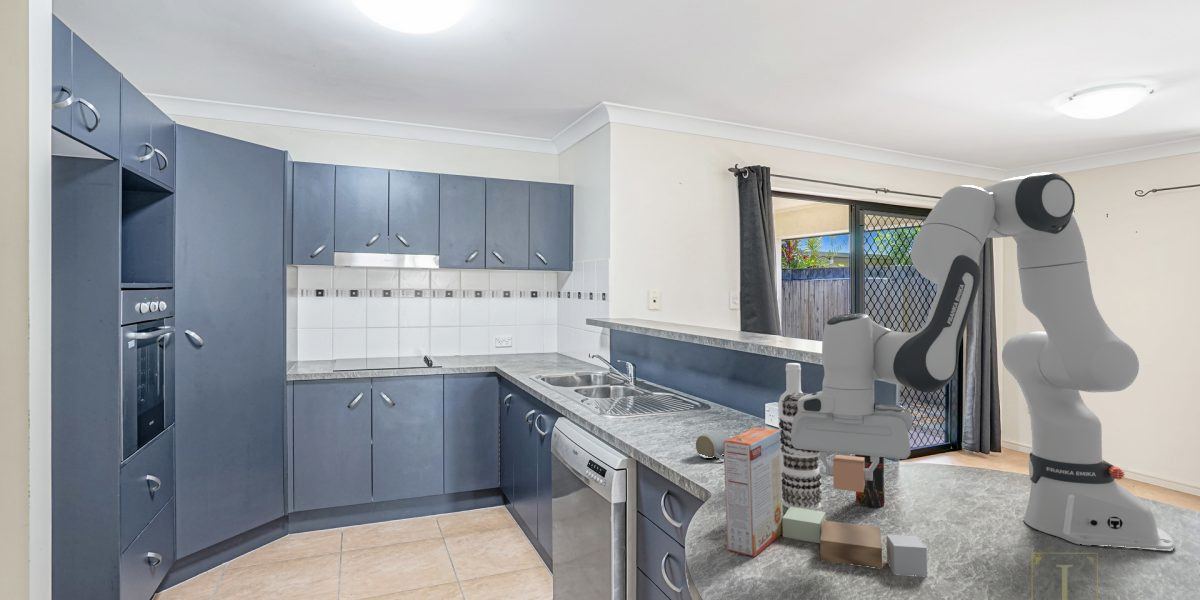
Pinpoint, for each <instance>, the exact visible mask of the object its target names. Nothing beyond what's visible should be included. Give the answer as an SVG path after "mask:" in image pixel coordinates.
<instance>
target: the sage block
mask: <svg viewBox="0 0 1200 600" xmlns="http://www.w3.org/2000/svg"><path fill="white" fill-rule="evenodd" d="M826 513H827V512H826V511H821V510H808V509H802V508H795V507H790V508H788V509H787V511H786V512H785V514H783V518H782V524H783V533H782V537H783V538H786V539H793V540H798V541H804V542H809V543H816V544H820V539H821V532H822V525H823V520H824V521H827V517H826V516H827V514H826Z"/></svg>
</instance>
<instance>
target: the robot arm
mask: <svg viewBox="0 0 1200 600" xmlns="http://www.w3.org/2000/svg"><path fill="white" fill-rule="evenodd" d="M1075 202H1076V195H1075V191H1074V189H1073V187H1072V185H1071V184H1070V183H1069V182H1068V181H1067V180H1066V179H1065V178H1064V177H1063V176H1061V175H1060V174H1058V173H1055V172H1054V173H1053V172H1039V173H1031V174H1029V175H1025V176H1017V177H1016V176H1015V177H1012V178H1007V179H1003V180H1000V181H998V182H995V183H992V184H989V185H986V186H984V187H978V186H975V185H968V184H966V185H962V184H961V185H958V186H953V187H952V188H950V189H949V190H947V191H946V192H945V193H944V194H943V196H942V197H941V198H940V199H939V200H938V201H937V202H936V204H935V205H934V206H933V208H932V209H931V211H930V212H929V214H928V215H927V217H926V218H925V220H924V222H923V224H922V225H921V227H920V229H919V230H918V233H917V235H916V237H915V239H914V240H913V243H912V247H911V249H910V260H911V263H912V265H913V267H914V269H915V270H916V271H917V272H918V273H919V274H920V275H921V276H922V277H924V278H925V279H927V280H928V281H930V283H932V284H934V285H935V284H936V288H937V289H936V294H935V296H934V299H933V302H932V304H931V307H930V310H929V312H928V315H927V318H926V321H925V323H924V325H923V326H922V327H921V328H920V329H917V330H916V331H913V332H908V331H907V332H905V331H896V330H895V331H894V330H892V329H891V328H887V327H885V326H883V325H880V324H879V323H876V321H874V320H873V319H872V318H870V316H869V315H868V314H866V313H860V312H859V313H858V312H856V313H846V314H840V315H836V316H833V317H831V318H830V319H828V320H827V321H826V323H825V325H824V328H823V333H822V342H821V343H822V345H821V346H822V349H821V358H822V359H821V363H822V366H823V370H824V375H823V380H822V385H821V386H822V390H820V391H816V392H812V393H806V394H807V395H804V396H802V397H801V398H799V400H798V402H797V407H798V410H799V411H798V412H797V413H796V415H795V416H794V418H793V422H792V429H791V444H792V445H793V447H794V448H796V449H804V450H814V451H819V456H818V458H820V461H821V462H822V464H823V465H824V467H825V476H829V477H833V463H832V464H831V462H830V461H829V459H828V455H829V453H837V454H847V455H855V454H856V455H866V456H870V461H871V462H873V463H872V464H871V466H870V467H869V468H864V480H871V481H873V471H874V469H875V468H876V466H877V465H878V463H879V457H884V458H889V459H898V460H906V459H908V458H909V457H910V456H911V443H910V442H911V441H910V435H909V431H911V429H912V426H913V415H912V413H911V411H910V410H909V409H907V408H905V407H903V405H899V404H894V405H891V404H884V403H875V381H881V382H885V383H889V384H893V385H897V386H898V385H899V386H902V387H906V388H908V389H913V390H915V391H918V392H921V393H925V394H926V393H934V392H938V391H940V390H942V389H943V388H945V387H946V386H947V385H948V384H949V383H950V382H951V381H952V379H953V378H954V376H955V374H956V371H957V368H958V363H959V354H960V347H961V343H962V340H963V336H964V333H965V331H966V329H967V324H968V321H969V319H970V315H971V312H972V310H973V306H974V303H975V299H976V297H977V294H978V290H979V286H980V283H981V270H980V266H979V265H978V262H977V261H978V259H979V256H980V254H981V251H982V249H983V247H984V245H985V242H986V240H987V239H996V238H997V239H998V238H1000V239H1001V238H1009V237H1010V238H1011V237H1012V238H1013V240H1014V241H1015V243H1016V261H1017V269H1018V277H1019V282H1020V283H1019V284H1020V292H1021V299H1022V303H1023V306H1024V308H1025V309H1026V310H1027V311H1029V313H1030V314H1033V315H1034V316H1035V317H1036V318H1037V319H1038V320H1039V323H1040V324H1041V325H1042V327H1043V328H1044V330H1045V331H1029V332H1025V333H1019V334H1015V335H1014V336H1011V337H1010V338H1009V339H1008V340H1007V341H1005V343H1004V346H1003V348H1002V352H1001V359H1002V363H1003V366H1004V367H1005V369H1006V370H1007V372H1009V373H1010V374H1011V376H1013V378H1014V379H1015V380H1016V381H1017V382H1016V383H1018V386H1019V387H1020V389H1021V392H1022V393H1023V396H1024V399H1025V401H1026V405H1027V409H1028V413H1029V418H1030V428H1031V429H1030V430H1031V431H1030V432H1031V452H1029V458H1028V472H1029V473H1028V475H1029V479H1030V482H1031V483H1030V490H1029V498H1028V504H1027V507H1026V510H1025V514H1024V516H1023V521H1024V522H1025V524H1027V525H1028V526H1030V527H1031V528H1033V529H1035V530H1038V531H1040V532H1041V533H1042V532H1043V533H1045V534H1048V535H1052V536H1056V537H1058V538H1061V539H1064V540H1066V541H1067V542H1070V543H1072V544H1075V545H1080V544H1082V546H1091V545H1108V546H1109V545H1111V546H1124V547H1125V546H1126V547H1140V548H1156V549H1171V548H1173V547H1174V548H1175V542H1174V540H1173V537H1171V536H1170V535H1169V534H1168V533H1167V532H1166V531H1164V530H1162V529H1161V528H1160V527H1158V526H1157V521H1156V518H1155V516H1154V512H1153V511H1152V509H1151V507H1149V505H1148V504H1146V502H1145V501H1143V500H1142V499H1140V497H1138V496H1137V495H1135V494H1134V493H1132V491H1130V490H1128V489H1127V488H1125V487H1124V486H1123V485H1121V484H1120V483H1118V482H1116V481H1115V480H1122V479H1123V478H1125V475H1126V474H1125V472H1124V470H1123V469H1121V468H1120V467H1118V466H1114V465H1113V464H1112V463H1109V462H1108V461H1106V460H1104V459H1103V451H1102V450H1103V447H1102V446H1103V442H1102V441H1103V440H1102V434H1103V433H1102V423H1101V421H1100V418H1099V417H1098V416H1097V414H1096V413H1094V412H1093V411H1092V410H1091V409H1090V408H1089V407H1088V406H1087V405H1086V403H1085V402H1084V400H1083V398H1082V396H1081V394H1080V392H1086V393H1112V392H1120V391H1123V390H1126V389H1127V388H1129V387H1130V386H1131V385H1133V383H1134V382H1135V380H1136V379H1137V376H1138V375H1139V371H1140V370H1139V369H1140V363H1139V358H1138V356H1137V355H1138V354H1136V351H1135V350H1134V348H1133V347H1131V346H1130V345H1129V344H1128V343H1126V342H1125V341H1124V340H1122V339H1121V338H1119V337H1118V335H1116V333H1115V332H1113V330H1112V329H1111V328H1110V327H1109V326H1108V324H1107V323H1106V321H1105V320H1104V318H1103V316H1102V314H1101V312H1100V311H1099V308H1098V307H1097V306H1098V305H1097V304H1096V301H1095V299H1094V295H1093V289H1092V285H1091V278H1090V273H1089V265H1088V259H1087V251H1086V247H1085V244H1084V240H1083V239H1084V238H1083V236H1082V233H1081V230H1080V227H1079V225H1078V221H1077V220H1076V218H1075V216H1074V215H1073V213H1074V209H1075V207H1076V205H1075V204H1076V203H1075Z"/></svg>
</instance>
